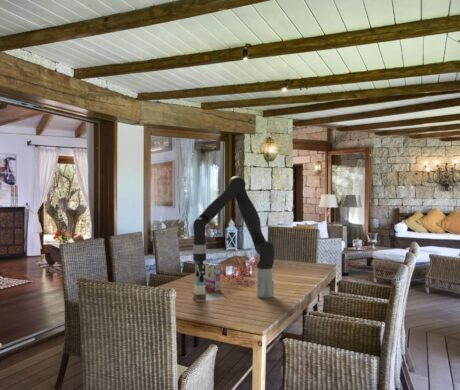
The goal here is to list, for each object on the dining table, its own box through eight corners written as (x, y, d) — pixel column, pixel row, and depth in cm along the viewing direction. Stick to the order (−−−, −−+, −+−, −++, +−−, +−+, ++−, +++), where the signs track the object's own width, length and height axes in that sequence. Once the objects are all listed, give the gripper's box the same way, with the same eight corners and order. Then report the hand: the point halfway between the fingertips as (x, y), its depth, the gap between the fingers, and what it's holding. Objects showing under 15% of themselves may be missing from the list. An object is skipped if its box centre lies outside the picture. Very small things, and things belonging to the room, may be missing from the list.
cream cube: (202, 291, 235) (202, 283, 235) (205, 293, 230) (205, 285, 230) (194, 292, 233) (194, 284, 233) (196, 294, 229) (196, 286, 228)
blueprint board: (218, 293, 243) (218, 293, 243) (225, 299, 231) (225, 298, 231) (190, 296, 237) (190, 295, 237) (196, 302, 225) (196, 301, 225)
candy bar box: (220, 290, 251) (221, 264, 251) (214, 292, 248) (214, 265, 248) (210, 287, 260) (210, 262, 259) (204, 288, 256) (204, 263, 256)
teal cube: (202, 283, 235) (202, 275, 234) (204, 285, 230) (204, 277, 230) (194, 284, 233) (194, 276, 233) (196, 285, 229) (197, 278, 229)
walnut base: (202, 296, 236) (202, 291, 236) (206, 299, 230) (206, 294, 230) (193, 297, 234) (193, 292, 234) (196, 300, 228) (196, 294, 228)
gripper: (209, 253, 226) (209, 282, 226) (202, 250, 239) (202, 277, 240) (197, 254, 223) (196, 283, 224) (190, 250, 237) (190, 278, 237)
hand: (199, 280), depth 232 cm, fingers open, 7 cm apart
